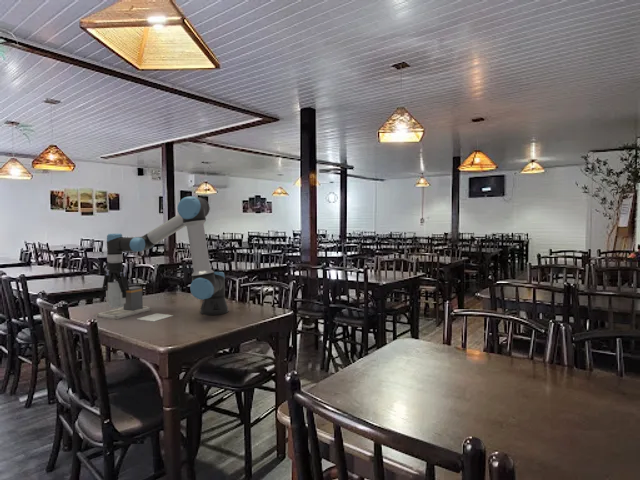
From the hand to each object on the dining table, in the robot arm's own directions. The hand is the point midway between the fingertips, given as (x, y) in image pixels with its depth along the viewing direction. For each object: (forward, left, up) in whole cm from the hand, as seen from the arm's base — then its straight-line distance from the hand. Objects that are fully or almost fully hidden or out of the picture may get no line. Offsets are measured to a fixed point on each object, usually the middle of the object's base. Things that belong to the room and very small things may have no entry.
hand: (115, 302), depth 228 cm
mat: (-23, -5, -7) cm, 25 cm away
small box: (0, 0, -2) cm, 2 cm away
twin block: (0, -12, -7) cm, 13 cm away
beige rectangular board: (0, -6, -7) cm, 9 cm away
